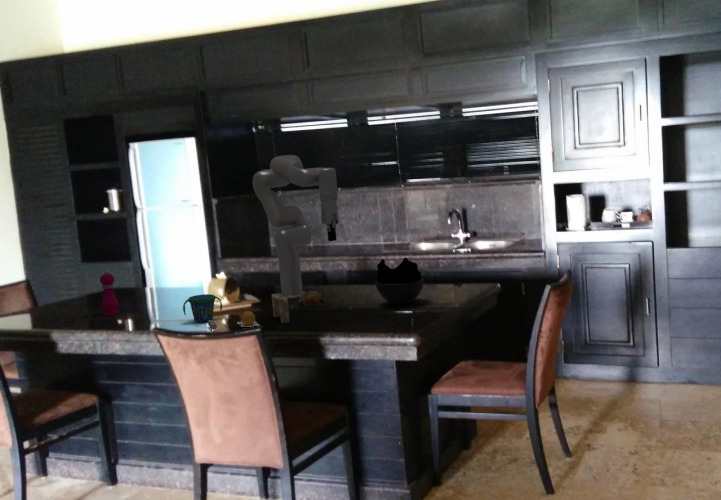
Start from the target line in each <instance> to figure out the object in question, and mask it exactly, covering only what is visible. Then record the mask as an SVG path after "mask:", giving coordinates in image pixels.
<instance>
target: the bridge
mask: <svg viewBox="0 0 721 500" xmlns="http://www.w3.org/2000/svg"><path fill="white" fill-rule="evenodd" d="M271 301H272V305H271V306H272V314H273V315H272V316H273V318H279V317H280V323H281V324H288V323H290V313H289V312H290V311H289V300H288V299H287V298H285V297H284V296H282V295H281V294H280V293H279V292H278V293H272V294H271Z"/></svg>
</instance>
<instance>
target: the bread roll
mask: <svg viewBox="0 0 721 500" xmlns="http://www.w3.org/2000/svg"><path fill="white" fill-rule="evenodd" d="M305 292H306V293H304V294H303V295H302V296H301V297H299V300H298V305H300V307H302V308H303V307H304V308H315V307H320V306H323V304H324V296H323V295H322V294H321V292H318V291H316V290H308V291H305Z"/></svg>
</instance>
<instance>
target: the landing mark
mask: <svg viewBox="0 0 721 500" xmlns="http://www.w3.org/2000/svg"><path fill="white" fill-rule="evenodd" d="M237 324H239V325H240V324H241V325H240V326H241V327H250V328H255V327H254V326H257V327H261V325H260V324H259V323H258V322H257V321H256V320H255V321H254V323H253V324H251V325H244V324H243V323H242V321H241V320H240V321H237ZM252 326H253V327H252Z"/></svg>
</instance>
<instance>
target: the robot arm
mask: <svg viewBox="0 0 721 500" xmlns="http://www.w3.org/2000/svg"><path fill="white" fill-rule="evenodd" d="M289 184H292V185H294V186H295V185H296V186H298V187H303V188H306V187H307V188H308V187H314V186H315V187H317V186H318V191H319V193H318V194H319V201H320V202H321V203H320V215H321V216H320V218H321V224H323V225H325V226H326V231H327V241H328V242H335V241H337V225H338V224H339V211H338V203H337V201H339V197H338V181H337V172H336V168H334V167H311V168H304V165H303V163H302V160H301V159H300V157H299V156H297V155H295V154H288V155H277V156H275V157H273V158H272V159H271V161H270V163H269V169H261V170H259V171H257V172H255V174H253V177H252V188H253V191H254V193H255V196H256V197H257V198H258V200H259V201H260V203H261V205H262V207H263V209H264V212H265V214H266V216H267V219H268V220H269V223H270V224H271V226H272V227H273V228H276V229H278V228H279V229H278V230H277V231H276V232H275V234H274V237H273V238H274V243H275V247H276V250H277V258H278V266H279V278H280V288H281V293H279V294H281V295H282V296H284V297H285V298H287V299H296V298H300V297H301V296H302V295H303V294H304V293H306V292H307V291H304V290H303V282H302V270H301V261H300V259H301V258H300V255H299V253H298V252H297V250H296V249H295V248H299V247H305V246H307V245H310V243H311V241H312V232H311V229H310V227H309V225H308V222H307V219H306V218H305V215H304V213H303V211H302V210H301V209H300V208H299V207H298V206H297V205H294V204H293V205H292V204H291V205H284V204H283V203H282V201H281V198H280V196H279V195H278V194H277V193H276V192H274V190H272V188H282V187H286V186H288V185H289Z"/></svg>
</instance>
